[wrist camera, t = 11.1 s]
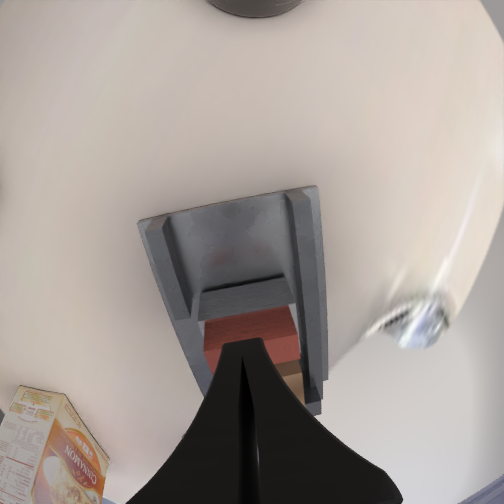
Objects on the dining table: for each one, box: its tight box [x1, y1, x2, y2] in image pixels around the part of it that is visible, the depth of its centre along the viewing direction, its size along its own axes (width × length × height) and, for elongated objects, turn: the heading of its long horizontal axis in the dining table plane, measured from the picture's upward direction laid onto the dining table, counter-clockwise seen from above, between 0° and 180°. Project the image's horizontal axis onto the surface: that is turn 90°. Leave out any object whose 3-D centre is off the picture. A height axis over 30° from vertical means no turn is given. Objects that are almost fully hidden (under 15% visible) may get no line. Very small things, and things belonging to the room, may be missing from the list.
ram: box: [198, 277, 301, 375], centre depth 18 cm, size 4×6×6 cm
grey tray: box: [137, 186, 328, 416], centre depth 20 cm, size 17×11×4 cm, turn 10°
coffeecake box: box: [0, 386, 109, 504], centre depth 19 cm, size 15×7×20 cm, turn 0°
